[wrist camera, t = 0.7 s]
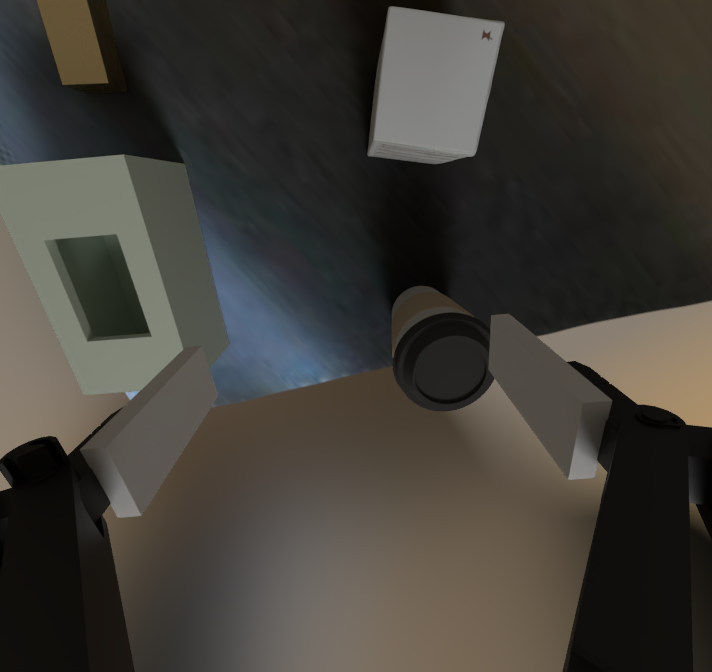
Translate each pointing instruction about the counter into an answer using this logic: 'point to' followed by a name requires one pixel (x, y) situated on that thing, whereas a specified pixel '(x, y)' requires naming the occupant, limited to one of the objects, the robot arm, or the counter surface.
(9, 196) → the grey box with slot
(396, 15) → the supplement box
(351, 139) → the counter surface
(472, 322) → the coffee cup
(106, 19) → the tan wooden block
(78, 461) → the robot arm
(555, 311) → the counter surface
